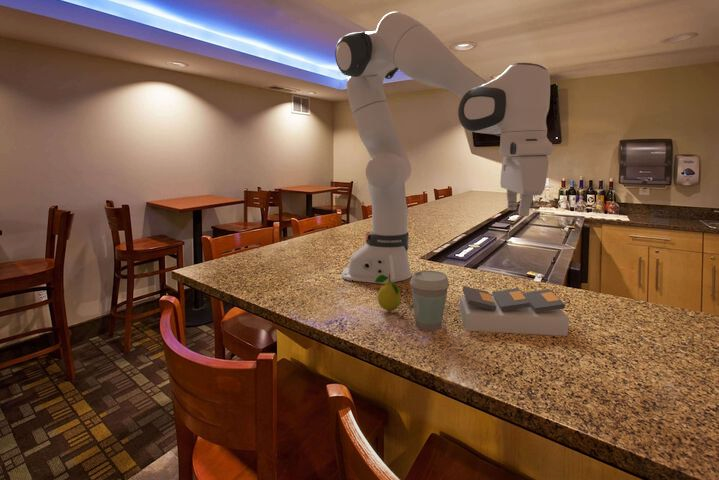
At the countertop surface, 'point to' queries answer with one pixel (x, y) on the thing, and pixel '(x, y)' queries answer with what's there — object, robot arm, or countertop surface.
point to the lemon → (388, 294)
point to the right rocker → (544, 300)
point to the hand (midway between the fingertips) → (517, 212)
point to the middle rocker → (510, 299)
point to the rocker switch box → (513, 320)
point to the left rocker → (479, 298)
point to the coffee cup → (429, 299)
